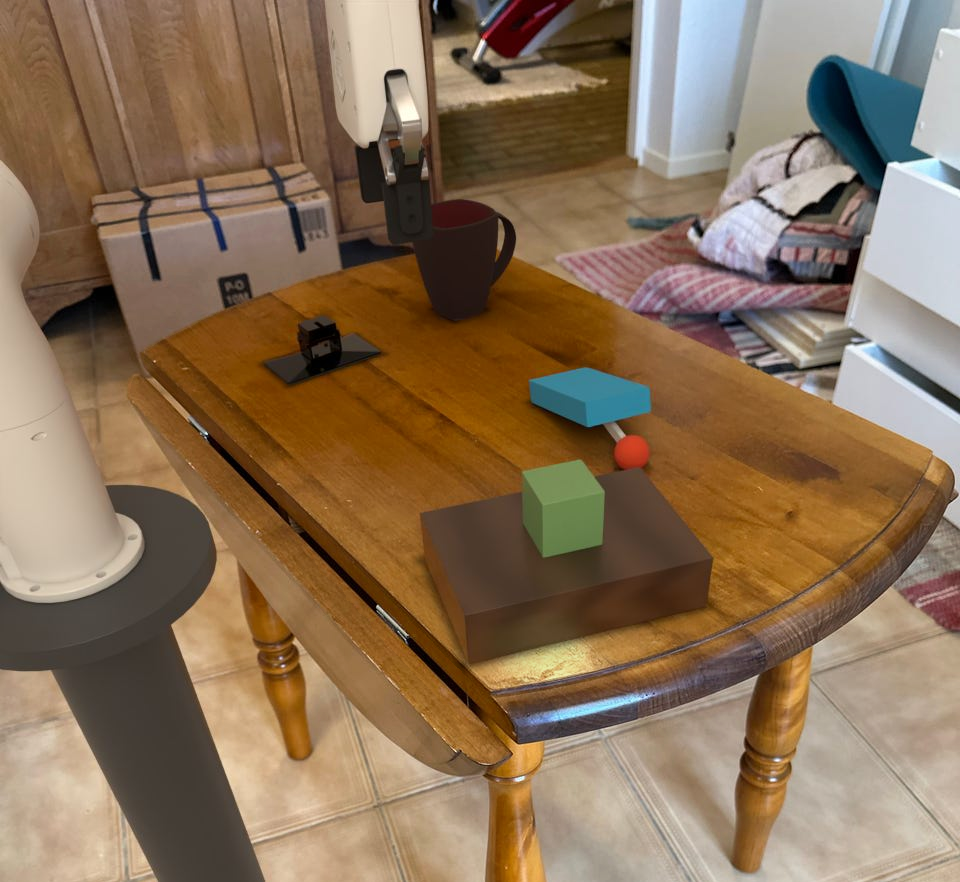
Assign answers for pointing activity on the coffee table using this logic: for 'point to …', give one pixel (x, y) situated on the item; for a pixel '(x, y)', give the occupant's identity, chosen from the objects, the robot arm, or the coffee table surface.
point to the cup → (463, 256)
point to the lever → (597, 406)
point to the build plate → (320, 351)
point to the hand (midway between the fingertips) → (396, 219)
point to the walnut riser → (562, 570)
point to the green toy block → (562, 508)
